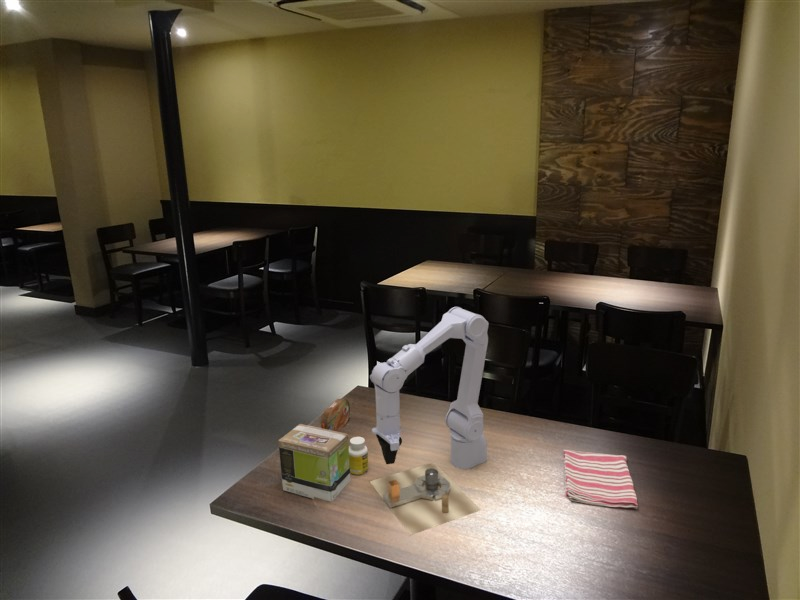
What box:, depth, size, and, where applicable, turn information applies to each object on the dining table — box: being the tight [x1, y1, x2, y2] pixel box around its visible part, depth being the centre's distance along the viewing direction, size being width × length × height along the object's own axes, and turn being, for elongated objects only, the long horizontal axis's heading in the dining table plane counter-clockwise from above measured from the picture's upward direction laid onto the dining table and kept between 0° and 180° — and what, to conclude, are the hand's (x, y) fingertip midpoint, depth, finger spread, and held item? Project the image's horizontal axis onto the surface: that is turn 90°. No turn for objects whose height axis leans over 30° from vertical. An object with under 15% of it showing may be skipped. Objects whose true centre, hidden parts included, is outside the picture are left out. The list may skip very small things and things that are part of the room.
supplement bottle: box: [349, 436, 369, 476], centre depth 149 cm, size 5×5×10 cm
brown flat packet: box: [320, 398, 351, 432], centre depth 172 cm, size 15×3×8 cm, turn 159°
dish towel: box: [562, 448, 639, 510], centre depth 145 cm, size 17×23×4 cm
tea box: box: [278, 423, 351, 502], centre depth 142 cm, size 15×10×15 cm, turn 65°
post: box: [425, 468, 438, 491], centre depth 140 cm, size 3×3×5 cm
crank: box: [382, 475, 450, 509], centre depth 138 cm, size 17×9×5 cm, turn 116°
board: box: [369, 462, 482, 536], centre depth 138 cm, size 19×23×1 cm
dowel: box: [442, 495, 449, 513], centre depth 132 cm, size 2×2×4 cm
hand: (389, 461), depth 138 cm, fingers closed
